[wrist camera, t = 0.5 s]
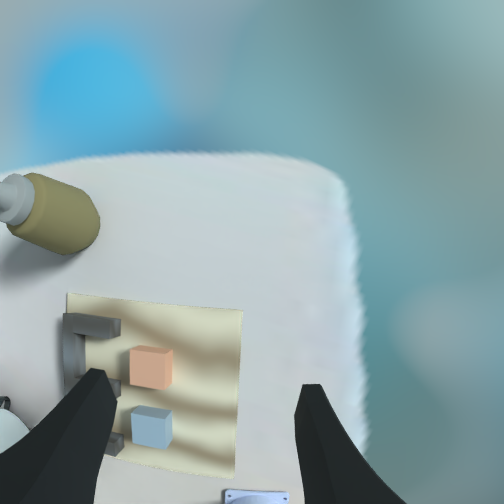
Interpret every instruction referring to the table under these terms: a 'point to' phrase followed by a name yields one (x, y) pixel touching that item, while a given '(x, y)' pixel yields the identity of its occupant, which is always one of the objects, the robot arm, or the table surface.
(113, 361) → the comb board
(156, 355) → the peach square block
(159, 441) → the slate-blue plug
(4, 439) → the coffee press
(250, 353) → the table surface
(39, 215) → the squeeze bottle
